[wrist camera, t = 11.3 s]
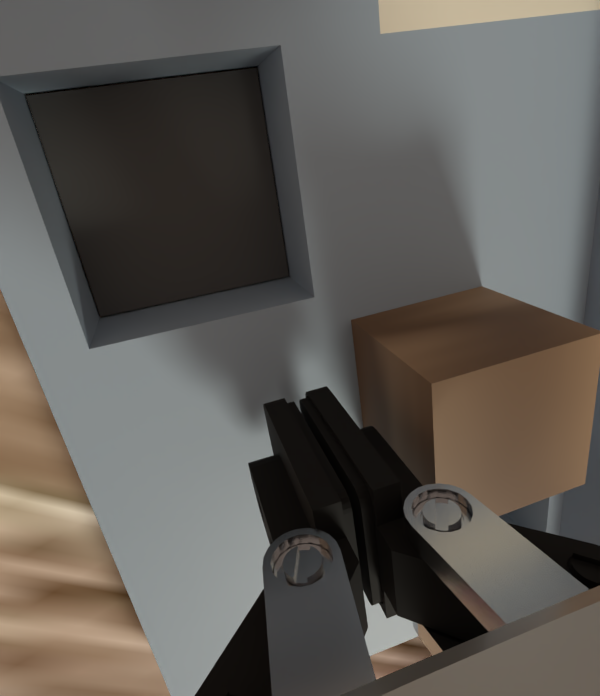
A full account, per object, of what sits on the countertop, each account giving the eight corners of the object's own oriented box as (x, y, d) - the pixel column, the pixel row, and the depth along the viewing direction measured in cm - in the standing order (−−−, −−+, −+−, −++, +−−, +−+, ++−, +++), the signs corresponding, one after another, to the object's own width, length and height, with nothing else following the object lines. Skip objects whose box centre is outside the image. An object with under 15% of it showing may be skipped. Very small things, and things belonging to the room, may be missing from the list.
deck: (181, 662, 19) (189, 800, 15) (-126, -135, 9) (-356, -378, 5) (523, 533, 22) (607, 617, 18) (573, -152, 12) (781, -306, 8)
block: (364, 443, 14) (437, 539, 10) (350, 319, 12) (431, 383, 9) (480, 406, 15) (585, 484, 11) (481, 286, 13) (604, 332, 10)
